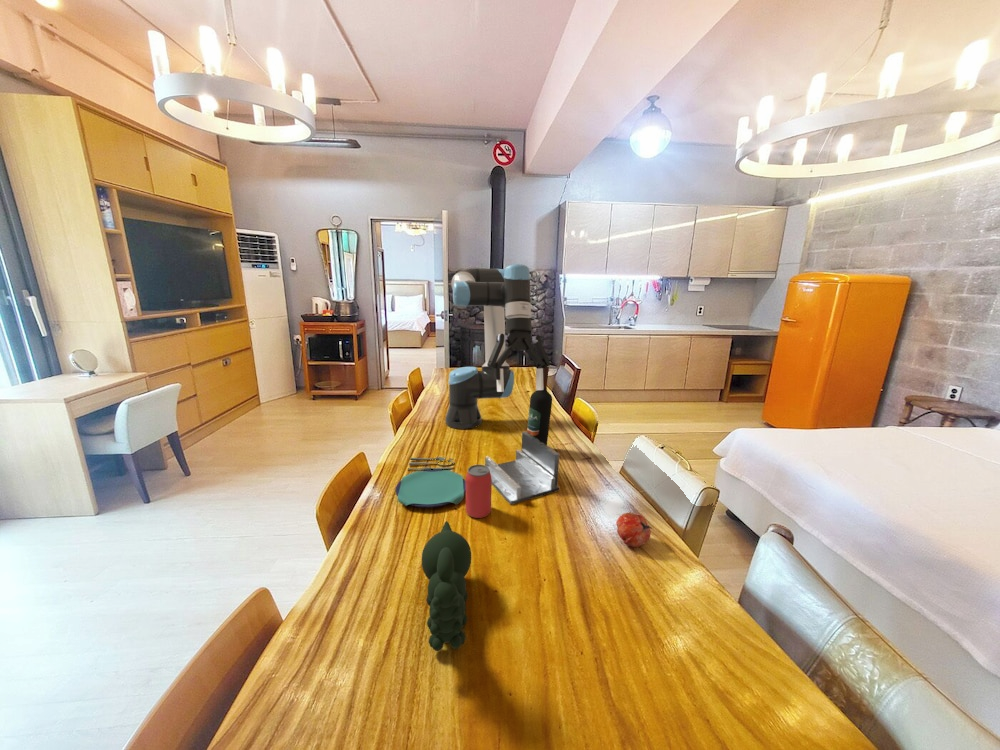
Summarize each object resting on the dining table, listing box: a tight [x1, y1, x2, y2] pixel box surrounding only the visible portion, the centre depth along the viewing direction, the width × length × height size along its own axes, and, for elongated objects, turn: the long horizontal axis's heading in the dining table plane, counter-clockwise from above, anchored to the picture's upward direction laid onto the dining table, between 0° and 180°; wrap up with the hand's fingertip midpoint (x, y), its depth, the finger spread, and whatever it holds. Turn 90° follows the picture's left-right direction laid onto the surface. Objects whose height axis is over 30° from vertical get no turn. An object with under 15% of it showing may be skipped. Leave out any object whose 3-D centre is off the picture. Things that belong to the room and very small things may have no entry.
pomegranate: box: [615, 511, 653, 548], centre depth 85 cm, size 7×7×10 cm
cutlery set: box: [395, 456, 466, 508], centre depth 110 cm, size 20×30×2 cm, turn 7°
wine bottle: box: [526, 366, 553, 446], centre depth 128 cm, size 8×8×30 cm
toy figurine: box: [421, 520, 472, 652], centre depth 66 cm, size 9×19×25 cm
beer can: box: [465, 464, 492, 519], centre depth 94 cm, size 7×7×12 cm
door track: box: [484, 431, 560, 506], centre depth 110 cm, size 20×16×11 cm
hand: (520, 391), depth 108 cm, fingers open, 13 cm apart
